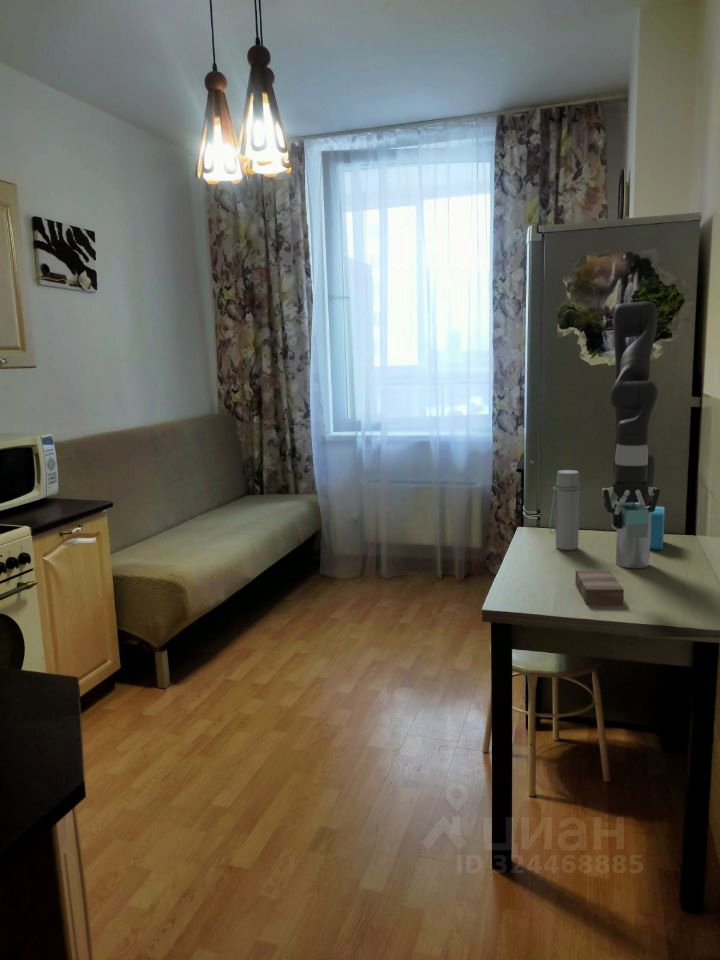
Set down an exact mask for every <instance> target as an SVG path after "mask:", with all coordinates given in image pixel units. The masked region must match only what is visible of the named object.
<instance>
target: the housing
mask: <svg viewBox="0 0 720 960" xmlns="http://www.w3.org/2000/svg"><path fill="white" fill-rule="evenodd" d="M615 501H616V500H612V501H611V502H612V503H611V506H612V507H614V504H615ZM619 515H620V528H619V529H616V528H615V527H614V526H613V524H612V523H611V527H612V529H614V530H615V531H616V532H617V531H618V532H619V533H620V534H622V535H623V536H624V537H626V538H647V532H648V509H646V508H645V507H643V506H639V505H638V504H637V503H636V502H628V503H624V505H623V507H621V510H620V513H619Z"/></svg>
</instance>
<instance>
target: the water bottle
mask: <svg viewBox="0 0 720 960" xmlns="http://www.w3.org/2000/svg"><path fill="white" fill-rule="evenodd" d="M580 488H581V485H580V474H579V471H577V470H574V469H573V470H571V469H564V470H562V469H561V470H558V471H557V473H556V482H555V486H553V487H552V489H553V497H552V504H551V511H550V518H549V519H550V520H549V524H548V525H549V527H551V524H552V523H551V521H552V515H553V510H554V521H555V522H554V530H553V531H551V528H549V534H552V535H553V534H554V533H555V547H556V548H557V549H559V550H561V551H574V550H577V549H578V548H579V533H580V532H579V529H580V528H579V527H580V526H579V524H580V523H579V522H580V521H579V520H580V518H579V517H580ZM553 507H554V509H553Z"/></svg>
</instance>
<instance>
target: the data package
mask: <svg viewBox="0 0 720 960" xmlns="http://www.w3.org/2000/svg"><path fill="white" fill-rule="evenodd" d="M665 513H666V510H665V506H657V505H656V508H655V511H654V512H651V536H650V550H654V551H655V550H656V551H662V550H663V547H664V531H665Z"/></svg>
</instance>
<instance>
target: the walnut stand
mask: <svg viewBox="0 0 720 960" xmlns="http://www.w3.org/2000/svg"><path fill="white" fill-rule="evenodd" d="M574 581H575V583H574V585H575V587H576V589H577V590H578V593H579V595H580V596H581V597H582V600H583V602H584V604H585V605H592V606H593V605H598V606H599V605H601V606H602V605H603V606H607V605H608V606H611V605H612V606H613V605H614V606H623V605H624V595H625V594H624V591H625V590H624V588H623V587H622V585H621V583H620V582H619V580H617V578H616V576H615V575H614V574H613V573H612V571H611V570H575V580H574Z"/></svg>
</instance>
